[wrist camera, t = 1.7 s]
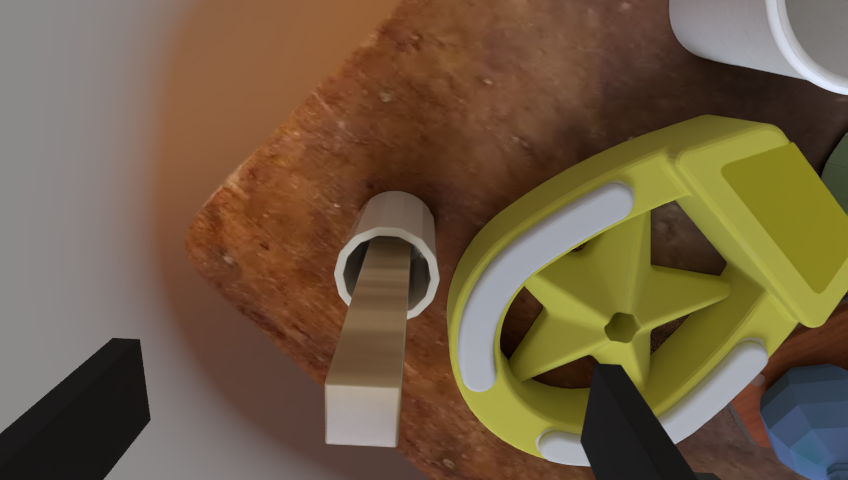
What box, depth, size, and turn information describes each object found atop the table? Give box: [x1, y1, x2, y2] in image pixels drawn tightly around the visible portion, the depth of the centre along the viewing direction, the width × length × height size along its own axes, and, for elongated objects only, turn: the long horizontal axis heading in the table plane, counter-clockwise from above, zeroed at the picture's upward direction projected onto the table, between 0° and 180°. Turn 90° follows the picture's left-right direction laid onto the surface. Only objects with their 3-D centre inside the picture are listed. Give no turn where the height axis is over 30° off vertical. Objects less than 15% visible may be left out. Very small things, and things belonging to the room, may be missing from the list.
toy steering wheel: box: [447, 114, 848, 466], centre depth 28 cm, size 16×21×5 cm
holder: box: [334, 191, 440, 319], centre depth 26 cm, size 5×5×7 cm
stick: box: [325, 236, 412, 447], centre depth 21 cm, size 2×2×16 cm
